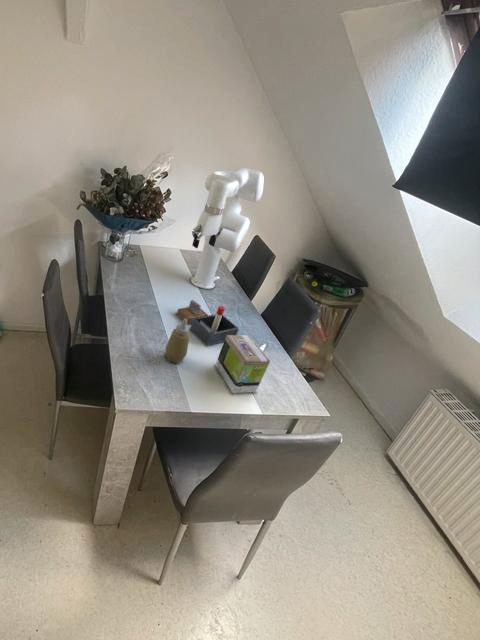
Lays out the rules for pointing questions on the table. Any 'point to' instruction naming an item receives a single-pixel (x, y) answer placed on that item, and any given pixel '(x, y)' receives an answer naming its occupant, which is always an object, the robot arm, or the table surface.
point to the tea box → (241, 363)
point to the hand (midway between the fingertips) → (203, 246)
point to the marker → (217, 319)
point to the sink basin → (203, 328)
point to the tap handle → (194, 307)
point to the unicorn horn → (262, 347)
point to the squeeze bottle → (178, 343)
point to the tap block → (189, 314)
